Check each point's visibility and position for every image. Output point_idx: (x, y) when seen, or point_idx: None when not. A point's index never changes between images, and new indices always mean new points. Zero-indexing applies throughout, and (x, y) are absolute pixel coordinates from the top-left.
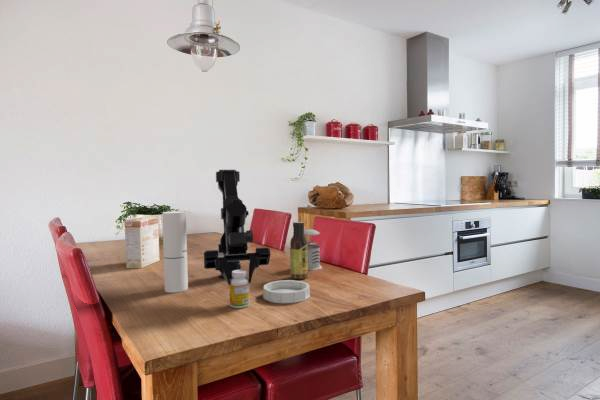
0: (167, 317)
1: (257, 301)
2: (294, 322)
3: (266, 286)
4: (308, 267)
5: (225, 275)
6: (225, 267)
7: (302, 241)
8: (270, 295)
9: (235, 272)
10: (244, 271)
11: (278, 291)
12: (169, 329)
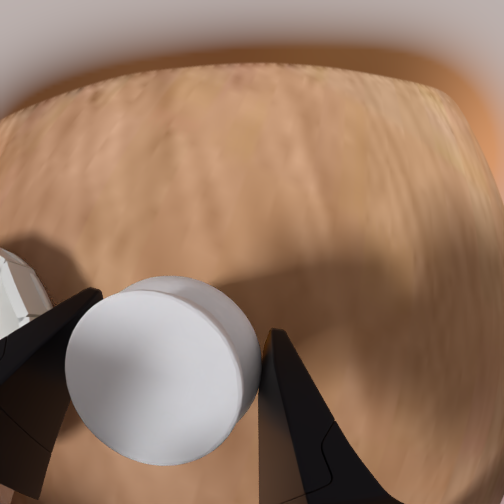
0: (468, 311)
1: None
2: (106, 86)
3: None
4: None
5: (316, 396)
6: (329, 473)
7: None
8: (38, 313)
9: (207, 346)
10: (89, 329)
11: None
12: (457, 202)
